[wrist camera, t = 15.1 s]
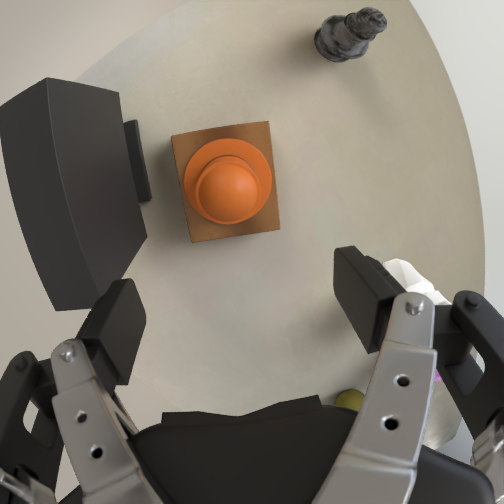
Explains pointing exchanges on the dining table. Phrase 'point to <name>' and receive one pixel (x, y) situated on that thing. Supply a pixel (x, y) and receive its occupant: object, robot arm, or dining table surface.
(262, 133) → the stand
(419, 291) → the vase
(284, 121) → the dining table surface
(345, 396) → the apple
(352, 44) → the chess piece
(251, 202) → the hat
